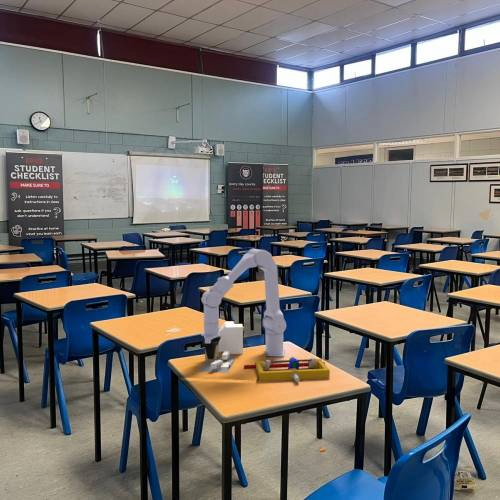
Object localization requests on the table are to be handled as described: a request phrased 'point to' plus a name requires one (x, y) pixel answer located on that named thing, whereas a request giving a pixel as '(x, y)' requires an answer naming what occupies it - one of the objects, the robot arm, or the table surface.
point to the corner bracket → (231, 338)
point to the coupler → (216, 355)
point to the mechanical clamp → (291, 369)
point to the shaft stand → (219, 364)
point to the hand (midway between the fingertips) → (212, 357)
